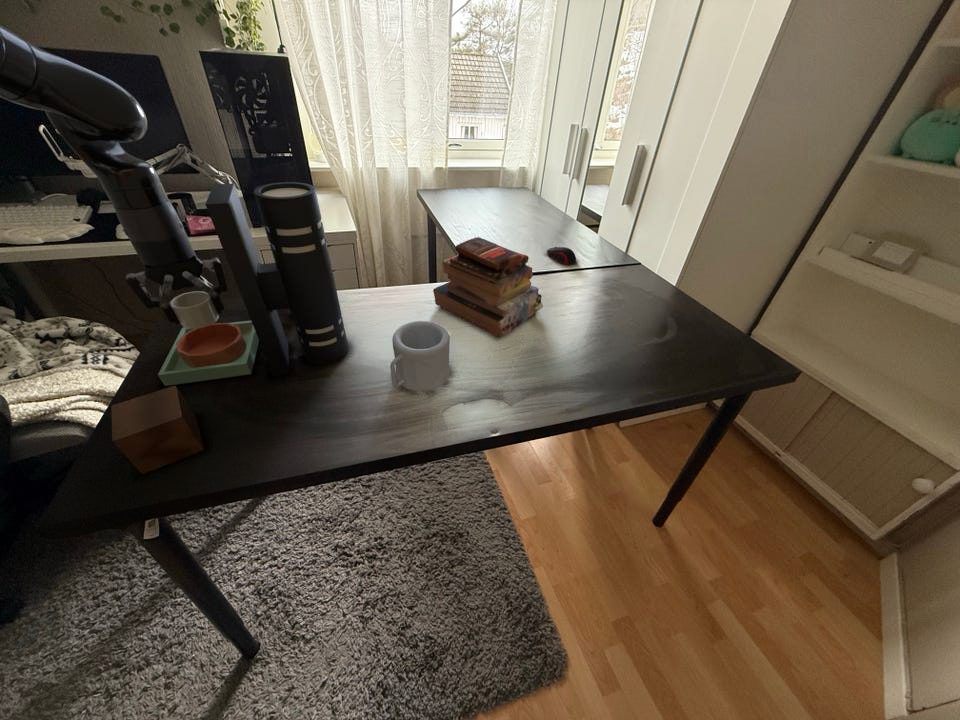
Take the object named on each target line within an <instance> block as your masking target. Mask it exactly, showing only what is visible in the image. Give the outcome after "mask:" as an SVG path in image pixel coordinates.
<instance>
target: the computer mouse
mask: <svg viewBox="0 0 960 720" xmlns="http://www.w3.org/2000/svg"><path fill="white" fill-rule="evenodd" d="M546 253H547V255H548V256H549V257H551V258H553V259H554V260H555V261H556V262H558V263H560V264H561V265H566V266H567V265H573V264H575V263H576V262H577V257H576V253H575V252H574V251H573V250H572V249H571V248H569V247H565V246H554V247H550V248H549V249H547V250H546Z"/></svg>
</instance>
